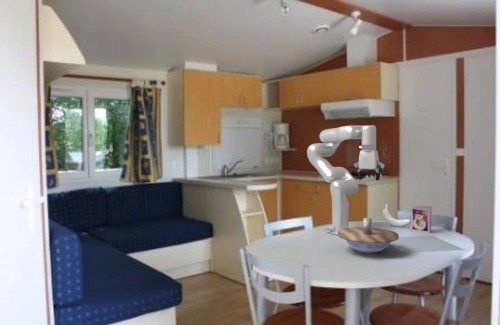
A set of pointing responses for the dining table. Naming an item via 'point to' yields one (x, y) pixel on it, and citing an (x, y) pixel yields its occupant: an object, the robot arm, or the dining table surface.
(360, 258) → the dining table surface
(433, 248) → the mat
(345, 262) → the dining table surface
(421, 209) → the greeting card
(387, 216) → the banana
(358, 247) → the ramen bowl
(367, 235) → the lid
